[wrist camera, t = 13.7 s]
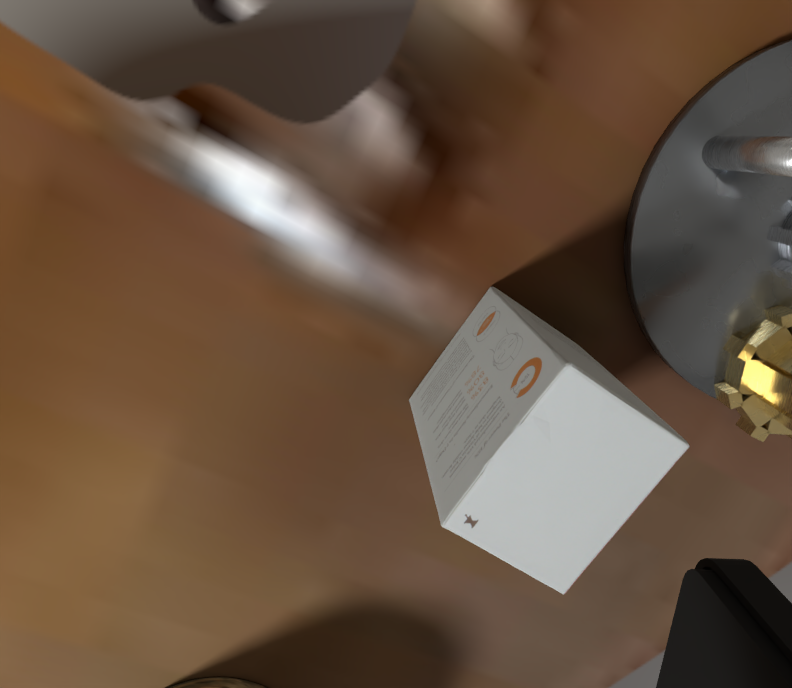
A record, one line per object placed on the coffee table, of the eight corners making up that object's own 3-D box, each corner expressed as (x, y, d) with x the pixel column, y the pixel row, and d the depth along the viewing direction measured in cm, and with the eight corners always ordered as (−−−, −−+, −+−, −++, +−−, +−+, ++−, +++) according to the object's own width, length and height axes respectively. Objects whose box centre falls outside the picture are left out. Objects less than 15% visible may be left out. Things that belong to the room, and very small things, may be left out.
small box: (495, 454, 40) (563, 601, 27) (406, 399, 38) (435, 528, 26) (581, 343, 38) (696, 446, 26) (491, 281, 37) (567, 359, 24)
